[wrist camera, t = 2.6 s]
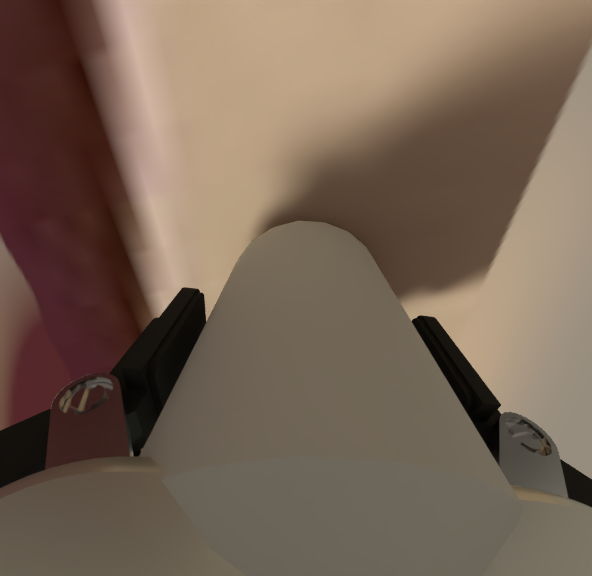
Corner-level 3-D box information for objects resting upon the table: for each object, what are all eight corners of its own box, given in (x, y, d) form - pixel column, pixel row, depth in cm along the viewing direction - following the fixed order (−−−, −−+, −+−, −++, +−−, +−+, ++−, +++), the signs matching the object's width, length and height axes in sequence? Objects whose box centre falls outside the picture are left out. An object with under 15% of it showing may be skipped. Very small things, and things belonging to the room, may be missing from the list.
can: (397, 233, 12) (956, 785, 2) (348, 343, 16) (436, 720, 6) (244, 198, 11) (-308, 812, 1) (231, 323, 15) (87, 715, 5)
